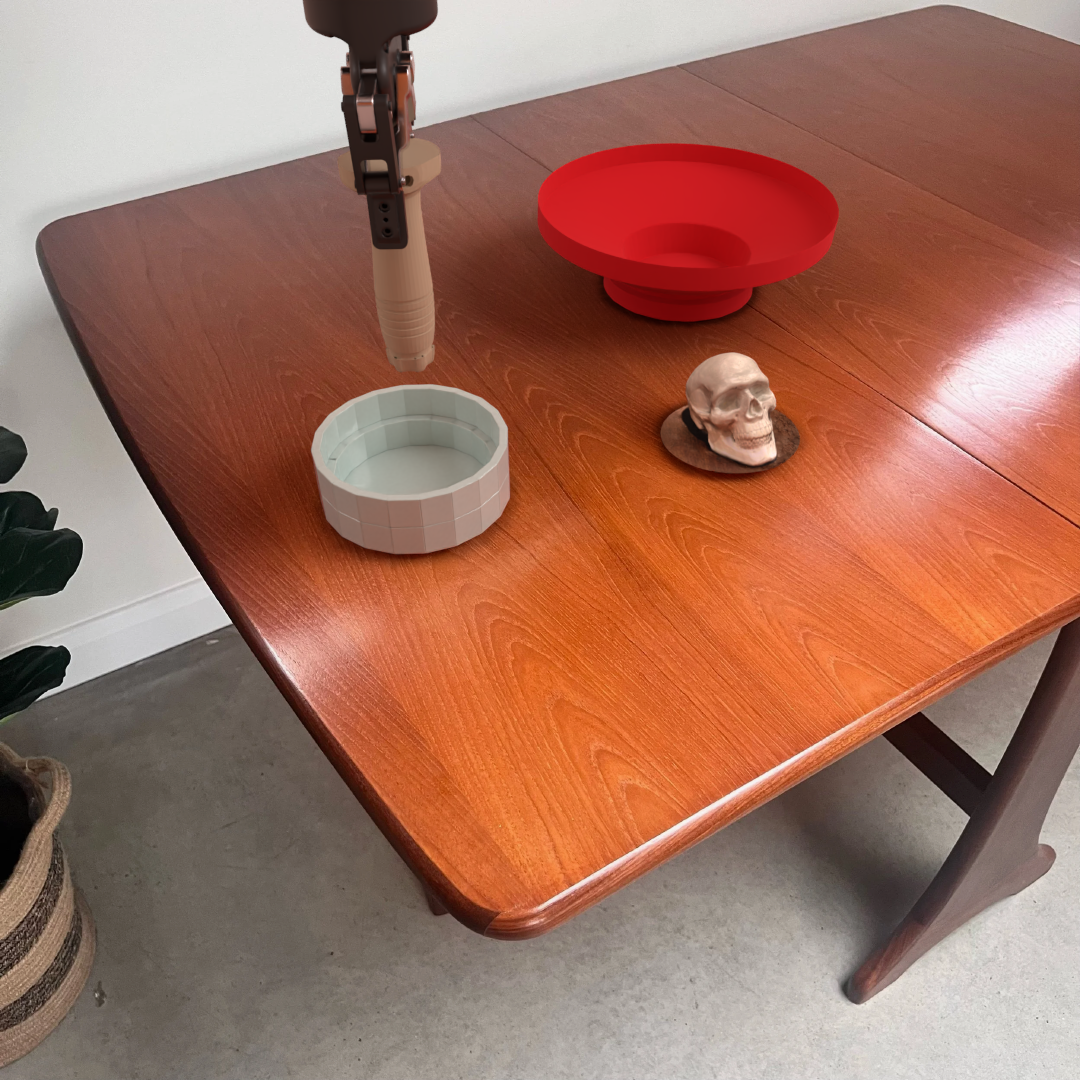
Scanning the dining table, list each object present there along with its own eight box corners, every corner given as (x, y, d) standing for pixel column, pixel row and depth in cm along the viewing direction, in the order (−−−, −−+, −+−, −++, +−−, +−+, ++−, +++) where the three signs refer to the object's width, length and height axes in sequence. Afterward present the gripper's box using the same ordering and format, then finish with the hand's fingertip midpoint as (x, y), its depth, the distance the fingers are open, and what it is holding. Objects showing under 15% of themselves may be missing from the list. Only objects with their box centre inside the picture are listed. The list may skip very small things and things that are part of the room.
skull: (837, 452, 88) (776, 393, 81) (743, 530, 91) (678, 479, 85) (774, 374, 96) (714, 315, 90) (690, 449, 100) (626, 396, 93)
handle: (356, 361, 75) (325, 154, 65) (435, 335, 77) (417, 132, 67) (386, 392, 72) (358, 180, 62) (467, 365, 74) (453, 156, 64)
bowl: (521, 352, 103) (519, 259, 96) (553, 219, 125) (553, 136, 119) (836, 368, 100) (855, 273, 93) (810, 229, 122) (825, 144, 116)
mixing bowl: (311, 562, 80) (298, 502, 76) (335, 443, 92) (325, 386, 88) (510, 557, 81) (507, 497, 77) (510, 439, 92) (507, 382, 88)
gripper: (313, -97, 62) (351, 181, 73) (269, -35, 51) (322, 279, 62) (439, -99, 62) (458, 179, 73) (422, -38, 51) (447, 277, 62)
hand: (395, 224), depth 68 cm, fingers closed on handle, 5 cm apart
